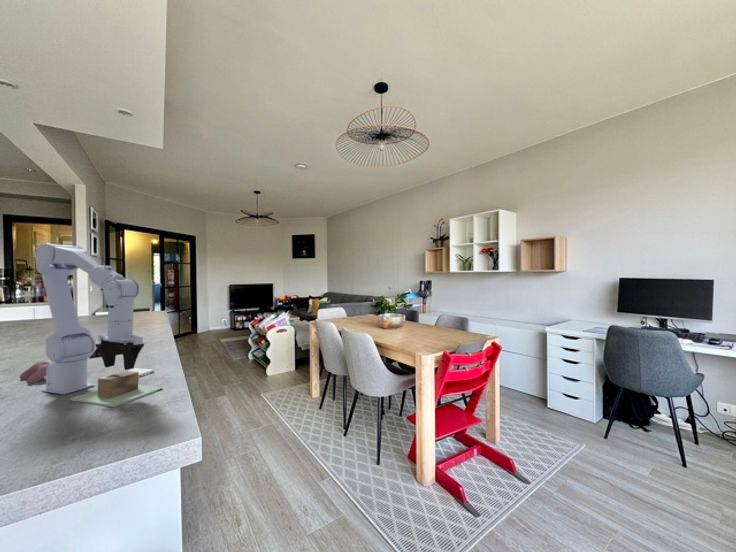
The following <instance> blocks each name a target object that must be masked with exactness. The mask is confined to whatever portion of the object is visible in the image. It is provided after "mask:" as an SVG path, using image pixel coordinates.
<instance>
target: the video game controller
mask: <svg viewBox="0 0 736 552" xmlns="http://www.w3.org/2000/svg"><path fill="white" fill-rule="evenodd" d="M50 363H51V362H48V361H47V360H46V361H45V360H41V361H36V362H35V363H34V364H32V365H31V366H30V367H28V368H27V369H26V370H25V371H23V372H22V373H21V374H20V375H19V376H18V377H19V379H20V380H26V381H25V382H26V384H27V385H32V384H36V383H38V382H39V381H42V380H43V379H45V378H46V370H47V367H48V365H49V364H50Z"/></svg>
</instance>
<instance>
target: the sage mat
mask: <svg viewBox="0 0 736 552" xmlns="http://www.w3.org/2000/svg"><path fill="white" fill-rule="evenodd" d="M160 389H162V390H163V387H160V386H153V385H152V386H151V385H145V384H140V383H138V389H137V390H134V391H131V392H128V393H125V394H122V395H119V396H116V397H113V398H110V399H108V398H102V397H98V389H97V390H93V391H90V392H86V393H84V394H80V395H77V396H74V397H71V398H70V401H73V402H77V403H78V402H81V403H86V404H92V405H97V406H98V405H99V406H104V407H111V408H115V407H118V406H120V405H121V406H122V405H123V404H124V405H125V404H126V403H129V402H132V401H134V400H137V399H139V398H142V397H143V398H144V397H145V396H148V395H151V394H154V393H156V392H159V391H161V390H160ZM158 390H159V391H158ZM155 391H156V392H155ZM153 392H154V393H153Z"/></svg>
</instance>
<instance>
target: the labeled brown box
mask: <svg viewBox="0 0 736 552" xmlns="http://www.w3.org/2000/svg"><path fill="white" fill-rule="evenodd" d="M138 375H139V372H133V371H128V370H124V371H121V372H118V373H114V374H111V375H106V376H103V377H100V378H97V390H98V397H102V398H108V399H110V398H113V397H116V396H119V395H122V394H125V393H128V392H131V391H134V390H137V389H138V384H139V378H138Z"/></svg>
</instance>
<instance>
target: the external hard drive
mask: <svg viewBox="0 0 736 552" xmlns="http://www.w3.org/2000/svg"><path fill="white" fill-rule="evenodd" d="M127 371H133V372H139V375H138V377H139V378H141V377H140V376H142V375H145V374H148V373H151V372H154V373H155V370H154V369H151V368H150V369H149V368H140V367H138V368H137V367H134V368H132V369H129V370H127ZM151 374H152V373H151ZM148 375H149V374H148ZM145 376H146V375H145ZM142 377H143V376H142Z"/></svg>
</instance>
